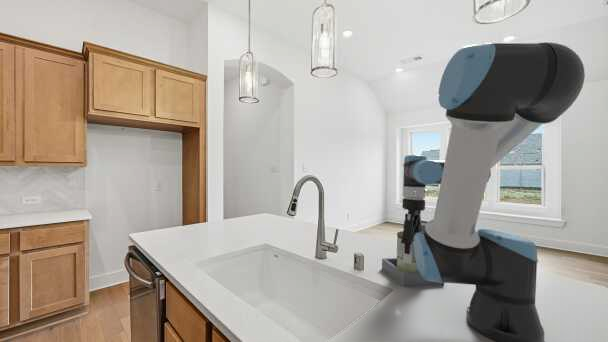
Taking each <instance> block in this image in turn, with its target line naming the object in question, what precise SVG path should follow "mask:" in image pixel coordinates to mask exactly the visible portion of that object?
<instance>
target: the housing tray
mask: <svg viewBox="0 0 608 342" xmlns="http://www.w3.org/2000/svg"><path fill="white" fill-rule="evenodd" d="M381 260H382V261H381V270H383V271H384V272H385V273H386V274H388V276H390V277H391V278H393V279H394V280H396V281H397V283H398V284H400V285H402V286H403V287H414V286H433V285H444V284H445V283H439V282H433V281H428V280H425V279H424V278H423V277H422V276H421V274H420V272H413V273H405V272H403V271H402V270H400V269H399V268H398V267H397V257H391V258H390V257H389V258H387V257H386V258H384V257H383V258H382V259H381Z"/></svg>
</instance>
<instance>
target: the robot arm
mask: <svg viewBox="0 0 608 342" xmlns="http://www.w3.org/2000/svg"><path fill="white" fill-rule="evenodd" d="M584 66H585V65H584V63H583V61H582V59H581V57H580V55H579V54H578V53H576V52H575V51H574V50H573V49H572V48H570V47H569V46H567V45H564V44H560V43H558V42H557V43H556V42H545V41H544V42H537V43H536V42H535V43H533V42H532V43H528V42H527V43H521V42H520V43H519V42H517V43H516V42H515V43H513V42H510V43H507V42H504V43H503V42H501V43H497V42H496V43H491V42H490V43H489V42H487V43H482V44H481V43H479V44H472V45H471V44H470V45H466V46H463V47H462V48H460V49H458V50H457V51H456V52H455V53H454V54H453V55H452V57H451V58H450V60H449V61H448V62H447V64H446V66H445V68H444V70H443V74H442V75H441V76H442V77H441V78H440V83H439V86H438V87H439V88H438V102H439V105H440V107H441V108H442V109H445V110H446V111H445V117H446V119H447V120H448V121H449V122H450V123H451V128H450V134H449V139H448V144H447V148H446V155H445V158H444V160H433V159H427V156H426V155H421V154H415V155H414V154H411V155H409V154H408V155H406V156H404V159H403V164H402V165H403V179H402V180H403V183H402V184H403V185H402V197H403V198H402V204H401V205H402V206H401V207H402V209H403V210H407V211H408V212H407V213H405V215H404V221H405V224H404V223H403V225H404V228H403V237H402V240H401V243H404V244H403V262H405V263H410V264H412V238H413V233H414V232H419V233H416V234H415V236H414V253H415V259H416V263H417V267H418V270H419V272H420V274H421V276H422V277H423V278H424V279H425V280H428V281H433V282H439V283H444V284H461V285H471V286H472V285H473V286H475V290H474V292H473V294H472V297H471V300H470V302H469V304H468V305H467V308H466V314H465V315H466V321H467V323H468V324H469V326H470V327H471V328H473V329H474V330H475V331H477V333H480V334H481V335H483V336H484V337H487V338H489V339H491V340H493V341H496V342H545V331H544V328H543V325H542V324H541V320H540V316H539V313H538V310H537V307H536V294H537V273H538V272H537V271H538V270H537V269H538V263H539V260H538V248H537V246H536V244H535V243H534V242H533V241H531V240H529V239H528V238H525V237H521V236H518V235H516V234H512V233H511V234H510V233H507V232H503V231H498V230H494V229H487V228H480V229H478V230H477V231H476V225H477V222H478V218H479V214H480V210H481V207H482V202H483V199H484V196H485V191H486V188H487V184H488V182H489V181H490V180H489V179H490V178H491V175H492V170H491V169H492V168H494V166H496V165H497V163H499V162H500V161H501V160H502V159H504V157H506V156H507V155H508V154H510V152H512V151H513V150H514V149H515V148H517V146H519V145H520V144H521V143H522V142H523V141H525V139H526V138H528V137H529V136H530V135H531V134H532V133H534V132H535V131H536V130H537V129H538V128H539V127H541V126H542V125H547V124H550V123H552V122H554V121H556V120H557V119H558V118H560V117H561V116H562V115H563V114H564V113H565V112H566V111H568V109H570V108H571V106H572V105H573V104H574V103H575V101H577V99H578V97H579V96H580V93H581V91H582V89H583V87H584V83H585V73H586V72H585V67H584ZM427 185H439V189H438V195H437V200H436V206H435V211H434V215H433V219H431V220H428V221H427V224H426V226H425V231H424V233H422V231H421V221H422V220H421V219H422V218H421V217H422V216H421V212H422V211H424V210H426V199H425V198H426V193H428V190H427V189H426V188H427V187H426V186H427ZM406 239H408V240H406Z"/></svg>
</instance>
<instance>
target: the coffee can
mask: <svg viewBox="0 0 608 342" xmlns="http://www.w3.org/2000/svg"><path fill="white" fill-rule="evenodd" d="M403 231H404V230H403ZM403 231H398V232H397V233H396V235H397V238H396V239H397V240H396V241H397V243H396V258H397V267H398V268H399V269H400V270H402V271H403V272H405V273H413V272H419V270H418V267H417V263H416V259H415V253H414V236H415V234H416V233H419V232H414V233H413V238H412V264H410V263H405V262H403V244H404V243H401V240H402V237H403ZM406 240H408V239H406Z"/></svg>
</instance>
